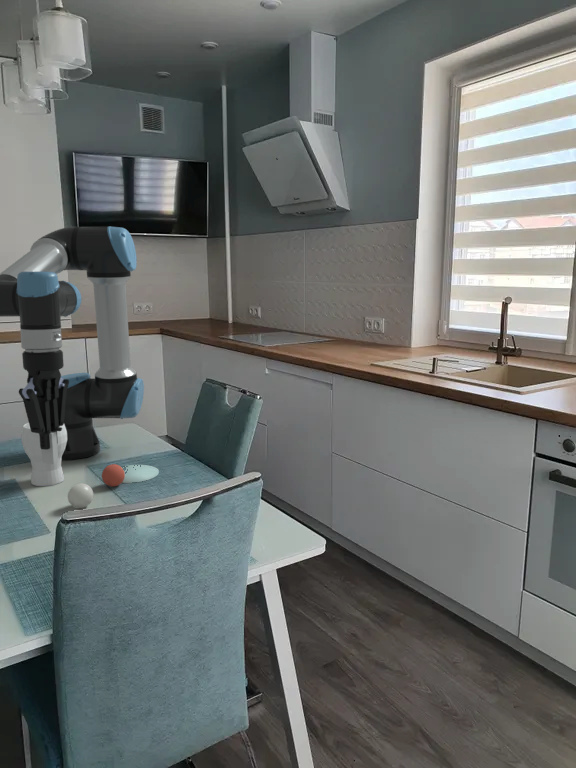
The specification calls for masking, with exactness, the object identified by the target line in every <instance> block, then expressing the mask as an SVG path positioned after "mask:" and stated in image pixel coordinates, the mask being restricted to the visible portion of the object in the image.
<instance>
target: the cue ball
mask: <svg viewBox="0 0 576 768" xmlns="http://www.w3.org/2000/svg"><path fill="white" fill-rule="evenodd" d="M67 500H68V503H69V504H70V505H71V506H72V507H74V508H75V509H83V508H86V507H88V506H89V505H90V504H91V503H92V502H93V500H94V491H93V488H92V487H91V486H90V485H88V484H86V483H77V484H74V485H73V486H71V488H70V489H69V491H68V493H67Z"/></svg>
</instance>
